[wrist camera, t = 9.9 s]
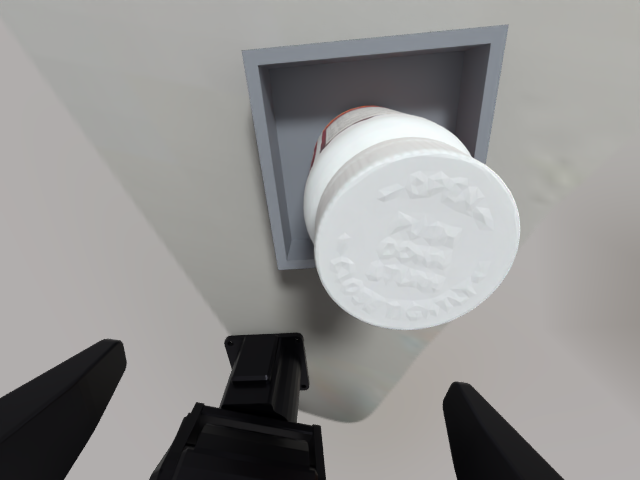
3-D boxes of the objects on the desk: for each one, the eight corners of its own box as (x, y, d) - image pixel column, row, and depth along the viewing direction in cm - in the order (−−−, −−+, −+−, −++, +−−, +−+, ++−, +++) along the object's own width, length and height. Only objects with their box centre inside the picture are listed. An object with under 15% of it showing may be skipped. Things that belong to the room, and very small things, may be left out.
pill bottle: (371, 228, 20) (420, 375, 9) (292, 173, 18) (248, 280, 8) (440, 148, 17) (602, 231, 7) (355, 78, 16) (407, 57, 6)
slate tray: (447, 233, 20) (469, 259, 17) (285, 243, 21) (278, 269, 18) (471, 37, 15) (508, 24, 12) (258, 58, 16) (241, 50, 13)
